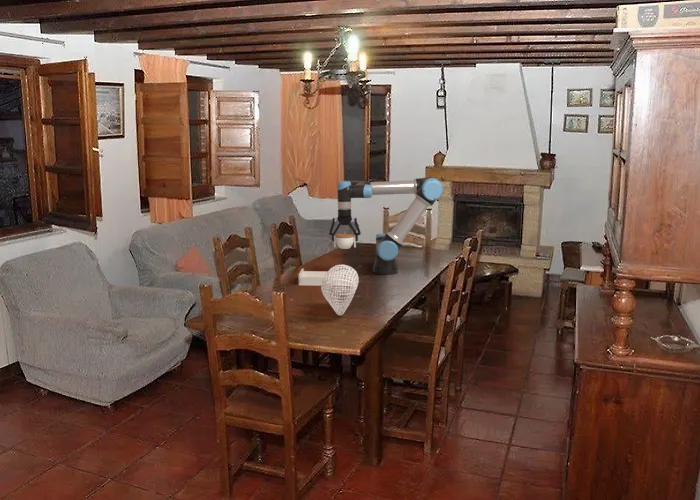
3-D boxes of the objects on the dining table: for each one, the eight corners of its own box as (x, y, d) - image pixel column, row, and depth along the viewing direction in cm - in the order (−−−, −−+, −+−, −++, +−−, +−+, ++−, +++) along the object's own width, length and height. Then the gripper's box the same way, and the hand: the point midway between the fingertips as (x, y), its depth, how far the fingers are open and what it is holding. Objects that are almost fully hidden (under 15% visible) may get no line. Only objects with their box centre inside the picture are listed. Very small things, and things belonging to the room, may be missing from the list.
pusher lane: (356, 279, 370) (356, 269, 369) (355, 286, 355) (355, 275, 354) (302, 278, 371) (302, 268, 370) (298, 285, 357) (298, 274, 355)
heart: (328, 306, 316) (327, 261, 312) (359, 307, 315) (359, 262, 310) (319, 323, 289) (318, 275, 285) (353, 324, 287) (354, 276, 283)
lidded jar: (351, 250, 366) (351, 233, 364) (333, 249, 369) (333, 233, 367) (356, 246, 376) (356, 230, 374) (338, 245, 379) (338, 229, 377)
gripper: (365, 207, 371) (365, 245, 375) (325, 207, 373) (325, 245, 377) (364, 209, 363) (364, 248, 367) (323, 209, 366) (324, 248, 370)
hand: (345, 247), depth 372 cm, fingers closed on lidded jar, 11 cm apart
